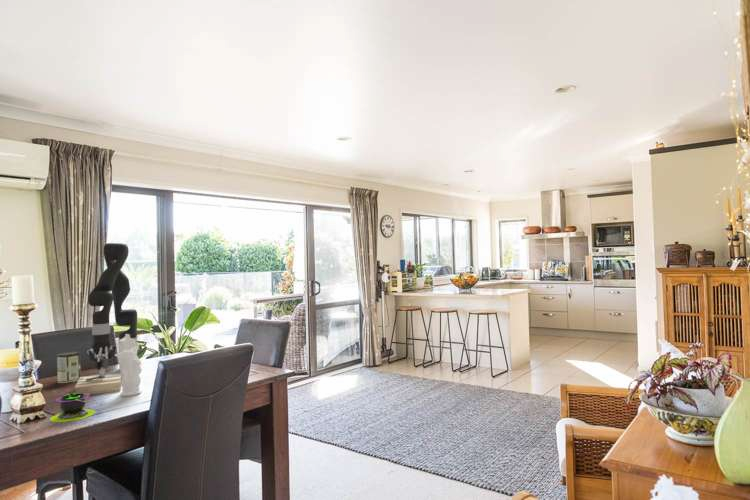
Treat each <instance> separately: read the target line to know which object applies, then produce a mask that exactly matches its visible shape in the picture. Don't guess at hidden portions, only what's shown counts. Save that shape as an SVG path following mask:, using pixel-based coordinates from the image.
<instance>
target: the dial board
mask: <svg viewBox="0 0 750 500" xmlns="http://www.w3.org/2000/svg"><path fill="white" fill-rule="evenodd" d="M98 376H99V374H94V375H84V376H81V377H80V378H79V380H78V381H76V382H77V383H76V384H75V385H74V393H75V394H80V393H81V394H89V395H90V396H91V395H96V394H97V395H98V394H104V393H113V392H119V391H120V392H122V385H121V380H122V377H121V372H120V371H119V372H113V373H105V377H104V378H96V379H93V380H89V381H86V379H90V378H94V377H98ZM83 389H84V391H83ZM78 392H79V393H78Z"/></svg>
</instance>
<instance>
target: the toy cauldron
mask: <svg viewBox="0 0 750 500" xmlns="http://www.w3.org/2000/svg"><path fill="white" fill-rule="evenodd" d="M67 391H69V389H67V390H66V392H67ZM83 391H84V389H83ZM78 393H79V392H78ZM59 394H61V395H63V391H62V392H60V393H59ZM90 396H91V395H89V394H81V393H80V394H75V392H73V393H67V394H65V395H64V396H60V397H58V398H57V399H55V402H58V403H59V409H60V410H61V413H60V412H59V413H58V414H57V413H56V414H55V415H53V416H51V417H50V418H49V421H50V422H54V423H68V422H74V421H78V420H83V419H86V418H89V417H92V416H93V415H95V414H96V410H94V409H91V408H90V409H86V408H85V407H86V402H87V398H89V397H90Z"/></svg>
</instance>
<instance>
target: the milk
mask: <svg viewBox="0 0 750 500" xmlns="http://www.w3.org/2000/svg"><path fill="white" fill-rule="evenodd" d="M134 346H136V340H135V339H132V338H130V335H129V334H125V337H124V338H122V339H121V340H120V353H121V352H123V351H124V350H130V349H131V348H132V347H134ZM135 355H136V354H135ZM122 368H123V363H122V361H121V358H120V369H119V372H121V378H122V377H123V375H122Z"/></svg>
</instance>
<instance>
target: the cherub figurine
mask: <svg viewBox="0 0 750 500" xmlns="http://www.w3.org/2000/svg"><path fill="white" fill-rule="evenodd" d="M139 349H140V344H139V343H138V342H137V345H136V346H134V347H132V348H131V349H130V350H124V351H123V352H121V353H119V352H118V353H116V354H115V353H114V356H115V357H117V358H118V359H119V358H121V361H122V363H123V368H122V375H123V377H121V391H120V393H119V394H120V396H121V397H133V396H137V395H140V394H142V390H141V389H140V384H141V376H140V374H141V373H142V367H141V365H142V360H140V358H139V357H138V355H137V356H136V355H135V354H136V353H137V354H138V350H139Z"/></svg>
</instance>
